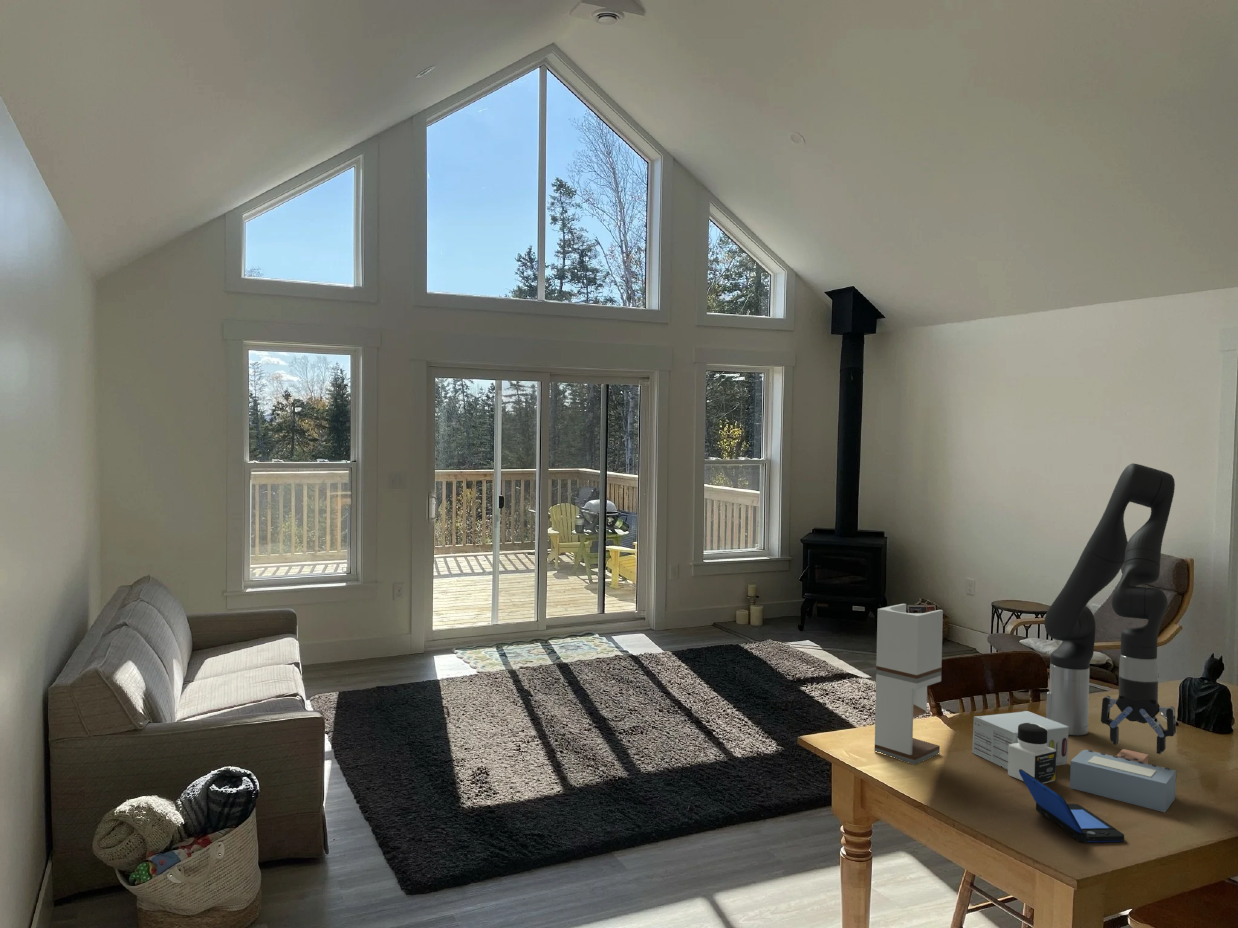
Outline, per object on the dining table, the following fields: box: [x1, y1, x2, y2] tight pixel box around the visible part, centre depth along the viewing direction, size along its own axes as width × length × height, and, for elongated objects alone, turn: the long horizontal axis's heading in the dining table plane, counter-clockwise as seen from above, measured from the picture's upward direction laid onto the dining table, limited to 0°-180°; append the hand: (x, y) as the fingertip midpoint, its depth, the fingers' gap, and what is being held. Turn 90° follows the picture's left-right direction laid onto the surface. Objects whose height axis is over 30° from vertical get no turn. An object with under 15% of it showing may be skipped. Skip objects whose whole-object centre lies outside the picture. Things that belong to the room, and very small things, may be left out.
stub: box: [1116, 748, 1149, 764], centre depth 195 cm, size 5×6×6 cm
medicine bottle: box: [1007, 723, 1057, 784], centre depth 196 cm, size 7×7×12 cm
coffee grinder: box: [874, 603, 944, 766], centre depth 210 cm, size 11×11×35 cm
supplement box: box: [971, 710, 1069, 771], centre depth 208 cm, size 17×13×9 cm
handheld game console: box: [1019, 769, 1125, 844], centre depth 172 cm, size 16×13×9 cm
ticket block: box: [1069, 749, 1177, 813], centre depth 188 cm, size 18×10×6 cm, turn 47°
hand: (1137, 748), depth 194 cm, fingers open, 8 cm apart
